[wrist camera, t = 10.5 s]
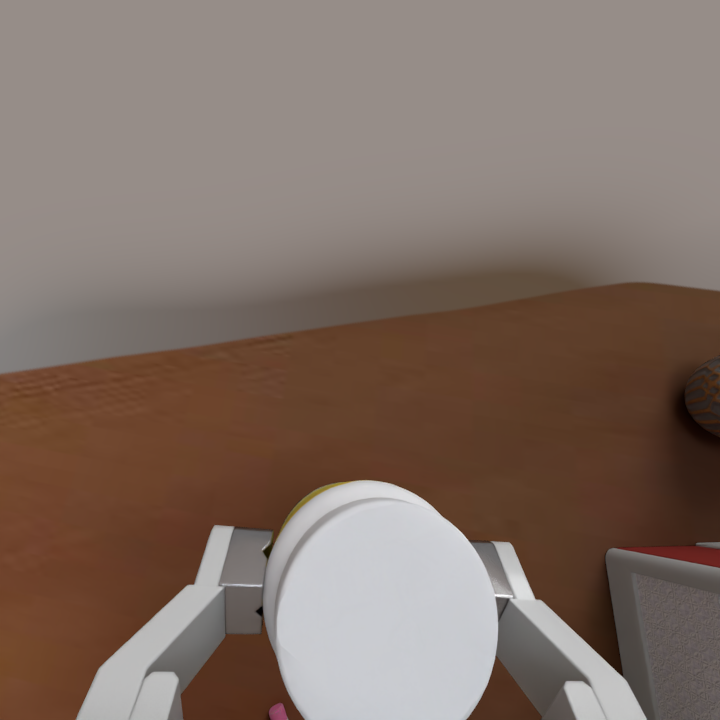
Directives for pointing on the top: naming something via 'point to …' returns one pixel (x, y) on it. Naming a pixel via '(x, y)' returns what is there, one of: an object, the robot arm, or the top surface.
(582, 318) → the top surface
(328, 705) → the supplement bottle
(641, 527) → the top surface
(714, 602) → the striped backpack
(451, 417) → the top surface
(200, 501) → the top surface
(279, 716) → the pencil
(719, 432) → the vase
